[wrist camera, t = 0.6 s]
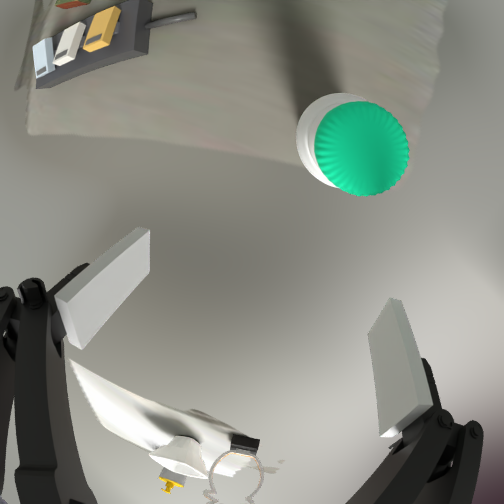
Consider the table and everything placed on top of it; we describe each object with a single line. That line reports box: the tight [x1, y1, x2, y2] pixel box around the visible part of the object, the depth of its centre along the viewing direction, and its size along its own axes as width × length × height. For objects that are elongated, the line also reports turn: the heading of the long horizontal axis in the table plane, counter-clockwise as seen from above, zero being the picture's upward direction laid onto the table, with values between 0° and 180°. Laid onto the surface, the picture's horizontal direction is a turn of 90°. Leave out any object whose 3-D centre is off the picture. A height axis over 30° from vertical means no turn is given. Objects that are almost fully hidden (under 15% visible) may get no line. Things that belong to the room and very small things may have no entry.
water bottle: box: [296, 93, 410, 196], centre depth 22 cm, size 7×7×25 cm
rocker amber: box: [83, 6, 121, 52], centre depth 24 cm, size 7×4×2 cm, turn 179°
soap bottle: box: [159, 467, 187, 493], centre depth 95 cm, size 13×13×21 cm
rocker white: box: [53, 22, 86, 66], centre depth 25 cm, size 7×4×2 cm, turn 179°
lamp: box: [203, 434, 264, 504], centre depth 62 cm, size 17×9×32 cm, turn 85°
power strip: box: [36, 0, 197, 89], centre depth 28 cm, size 10×33×5 cm, turn 89°
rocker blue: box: [33, 37, 55, 79], centre depth 27 cm, size 7×4×2 cm, turn 179°
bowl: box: [149, 436, 208, 479], centre depth 78 cm, size 19×19×14 cm
